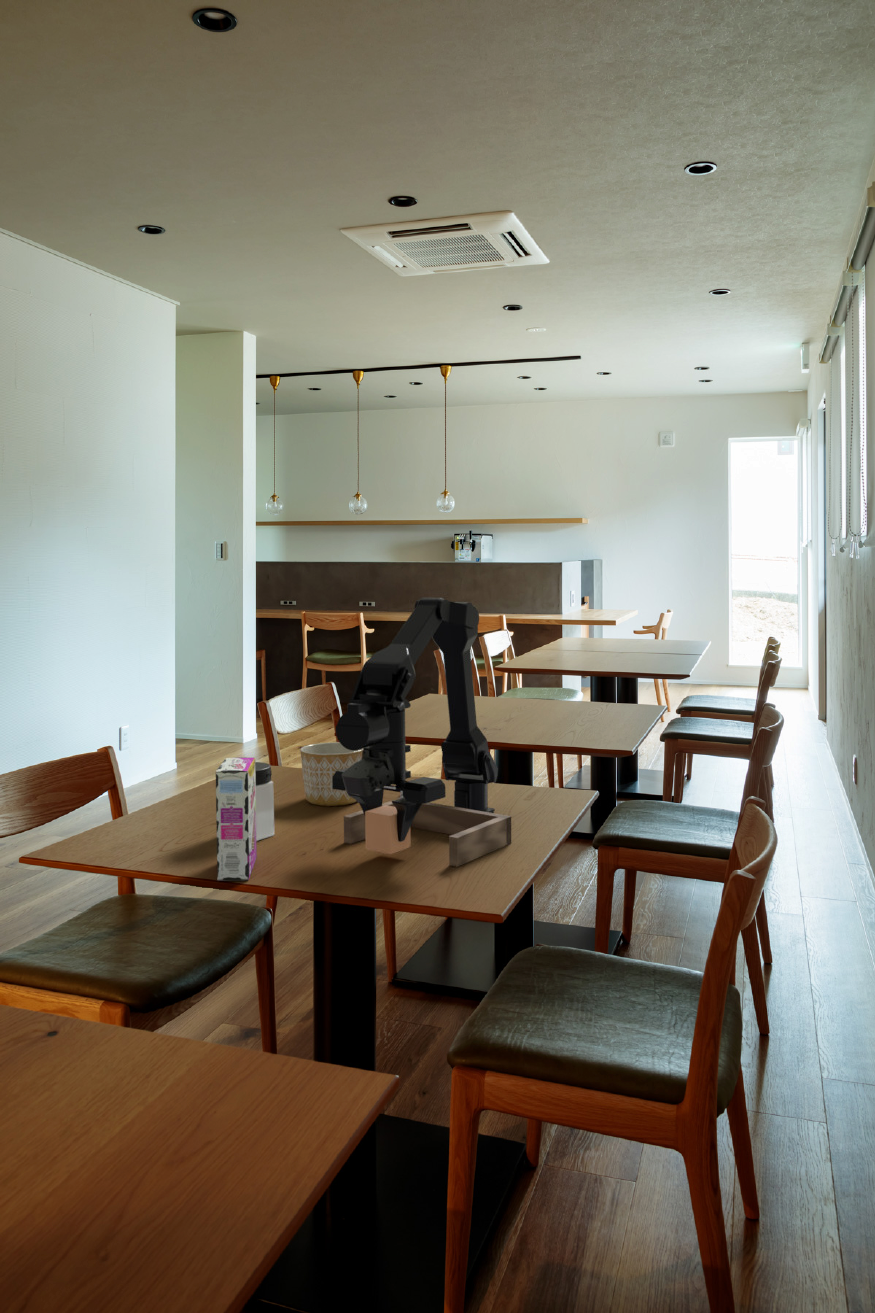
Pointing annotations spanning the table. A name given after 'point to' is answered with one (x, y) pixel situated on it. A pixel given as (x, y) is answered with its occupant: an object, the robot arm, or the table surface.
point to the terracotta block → (384, 831)
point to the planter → (326, 772)
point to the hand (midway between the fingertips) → (388, 838)
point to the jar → (264, 801)
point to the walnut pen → (449, 829)
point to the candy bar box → (236, 818)
